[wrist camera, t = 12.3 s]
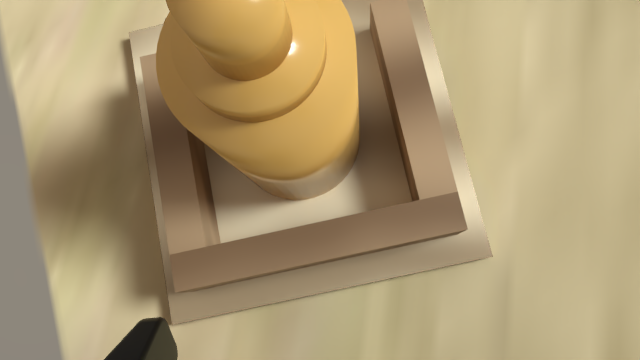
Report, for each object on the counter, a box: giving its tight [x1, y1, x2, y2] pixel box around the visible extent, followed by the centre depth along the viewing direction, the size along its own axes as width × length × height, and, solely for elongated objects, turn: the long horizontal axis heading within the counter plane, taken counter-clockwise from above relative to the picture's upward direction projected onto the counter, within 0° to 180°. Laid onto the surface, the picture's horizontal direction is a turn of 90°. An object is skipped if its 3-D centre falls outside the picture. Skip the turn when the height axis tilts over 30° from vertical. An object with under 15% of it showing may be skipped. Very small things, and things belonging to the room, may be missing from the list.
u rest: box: [129, 0, 493, 325], centre depth 23 cm, size 14×14×3 cm
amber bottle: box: [156, 0, 360, 200], centre depth 18 cm, size 6×6×13 cm
